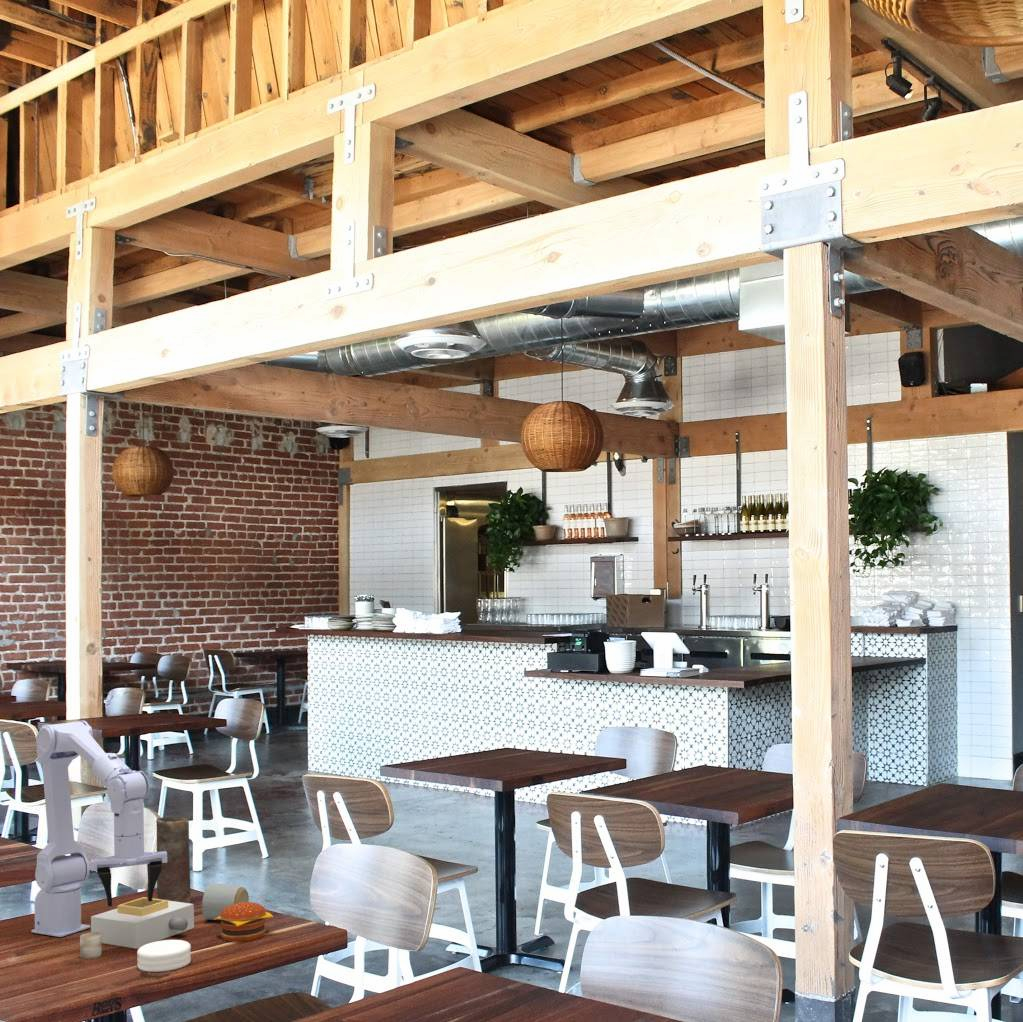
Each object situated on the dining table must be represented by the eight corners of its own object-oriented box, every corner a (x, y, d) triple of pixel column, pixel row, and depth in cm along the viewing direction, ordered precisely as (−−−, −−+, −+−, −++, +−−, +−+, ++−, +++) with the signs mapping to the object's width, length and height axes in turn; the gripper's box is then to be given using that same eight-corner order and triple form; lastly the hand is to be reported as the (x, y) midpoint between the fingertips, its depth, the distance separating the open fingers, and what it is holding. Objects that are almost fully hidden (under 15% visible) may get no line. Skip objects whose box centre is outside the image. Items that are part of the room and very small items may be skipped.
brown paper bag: (165, 903, 281) (164, 814, 282) (196, 903, 280) (194, 814, 281) (151, 911, 274) (150, 821, 275) (182, 911, 272) (181, 821, 274)
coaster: (134, 962, 237) (133, 943, 237) (186, 954, 241) (186, 936, 241) (140, 976, 228) (140, 957, 228) (195, 967, 232) (194, 949, 232)
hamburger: (247, 927, 258) (247, 895, 259) (275, 934, 252) (275, 902, 252) (210, 937, 251) (209, 904, 252) (238, 945, 245) (237, 911, 245)
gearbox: (91, 941, 251) (90, 909, 252) (150, 921, 265) (149, 891, 266) (146, 950, 243) (146, 917, 244) (204, 929, 257) (203, 898, 258)
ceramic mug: (236, 924, 260) (236, 887, 261) (201, 923, 262) (200, 887, 263) (256, 912, 271) (256, 876, 271) (222, 911, 272) (222, 876, 273)
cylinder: (75, 957, 241) (75, 936, 241) (92, 951, 244) (91, 931, 244) (89, 959, 239) (89, 938, 239) (106, 954, 242) (105, 933, 242)
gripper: (92, 841, 239) (93, 912, 238) (168, 833, 245) (169, 902, 244) (89, 835, 246) (90, 903, 245) (164, 827, 251) (165, 894, 250)
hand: (129, 902), depth 245 cm, fingers open, 7 cm apart
